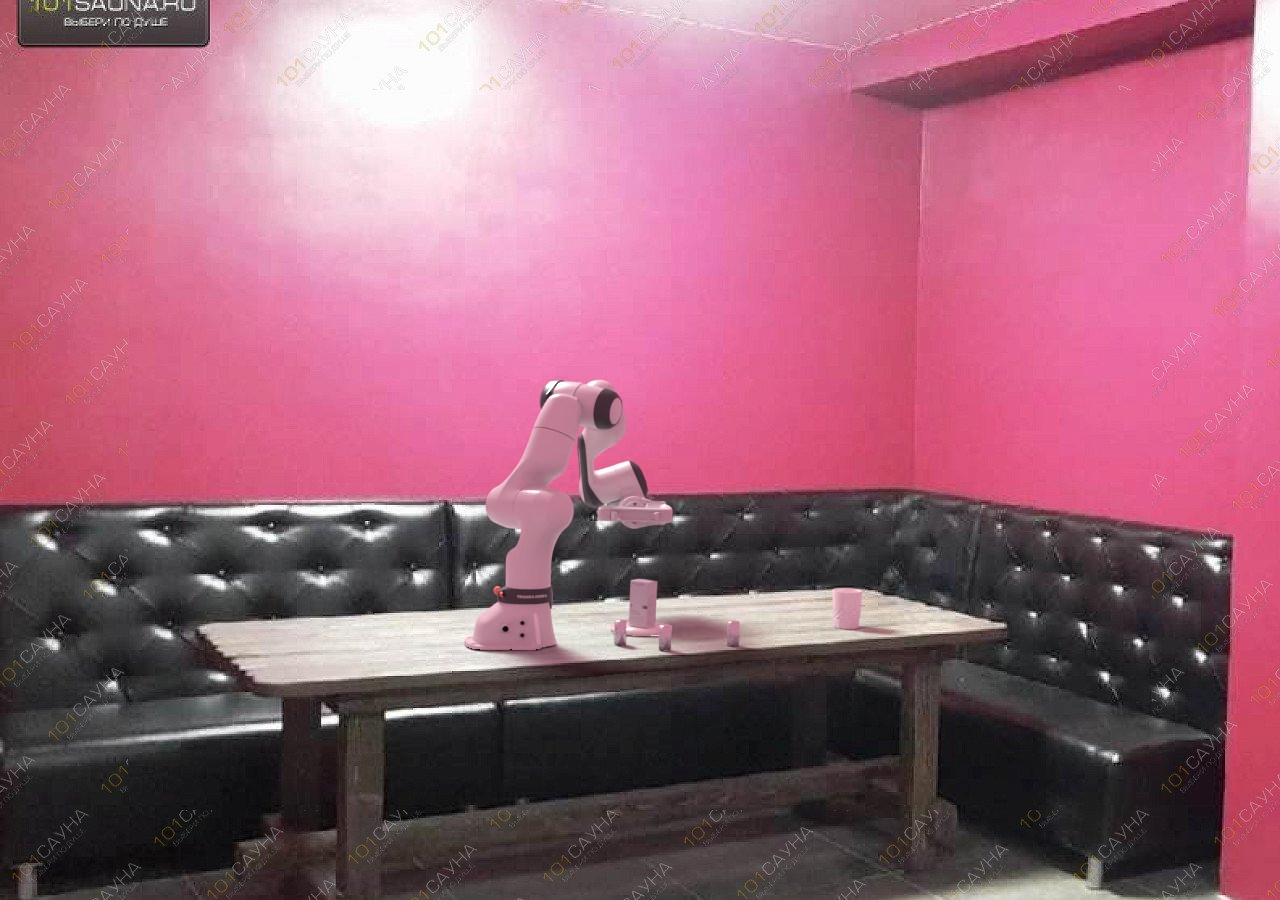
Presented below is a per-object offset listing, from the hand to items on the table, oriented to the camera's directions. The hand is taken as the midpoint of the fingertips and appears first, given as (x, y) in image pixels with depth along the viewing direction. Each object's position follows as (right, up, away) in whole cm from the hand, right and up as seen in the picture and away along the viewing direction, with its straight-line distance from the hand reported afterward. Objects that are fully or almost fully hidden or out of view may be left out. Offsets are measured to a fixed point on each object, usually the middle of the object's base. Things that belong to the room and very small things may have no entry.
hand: (635, 516), depth 363 cm
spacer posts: (+10, -31, -25) cm, 41 cm away
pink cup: (+57, -30, +5) cm, 64 cm away
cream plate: (+1, -30, -6) cm, 30 cm away
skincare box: (+2, -29, -5) cm, 29 cm away
